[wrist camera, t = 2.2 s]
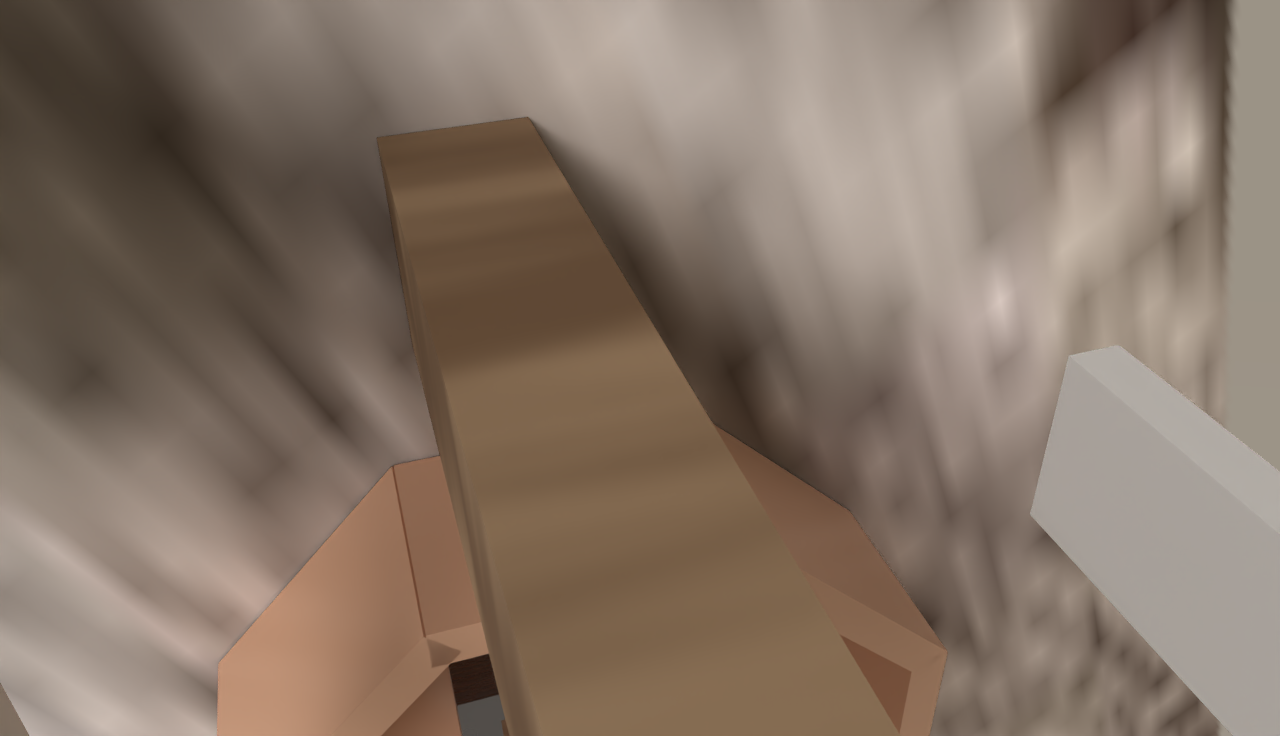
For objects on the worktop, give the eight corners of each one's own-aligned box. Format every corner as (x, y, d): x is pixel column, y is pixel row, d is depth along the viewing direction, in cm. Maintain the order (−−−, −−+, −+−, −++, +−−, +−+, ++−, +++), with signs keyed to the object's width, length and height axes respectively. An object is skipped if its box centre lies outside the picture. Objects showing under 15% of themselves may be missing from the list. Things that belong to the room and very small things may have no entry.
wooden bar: (376, 137, 17) (627, 1039, 6) (527, 116, 18) (1005, 908, 7) (412, 343, 19) (641, 1267, 8) (545, 319, 20) (920, 1154, 9)
